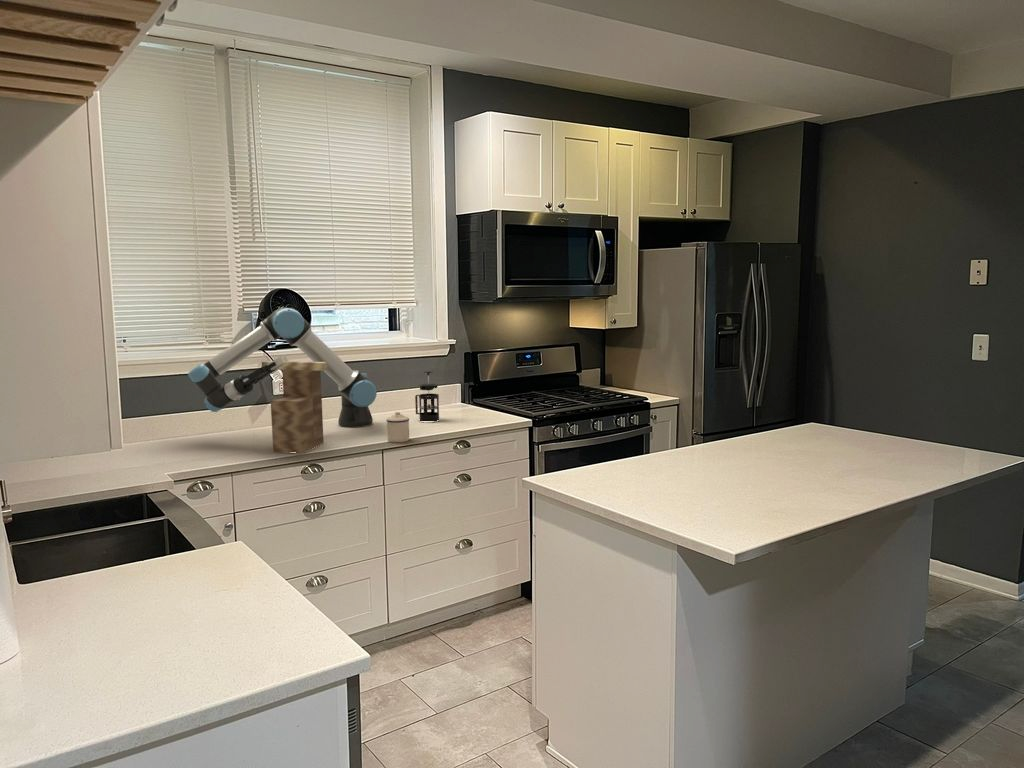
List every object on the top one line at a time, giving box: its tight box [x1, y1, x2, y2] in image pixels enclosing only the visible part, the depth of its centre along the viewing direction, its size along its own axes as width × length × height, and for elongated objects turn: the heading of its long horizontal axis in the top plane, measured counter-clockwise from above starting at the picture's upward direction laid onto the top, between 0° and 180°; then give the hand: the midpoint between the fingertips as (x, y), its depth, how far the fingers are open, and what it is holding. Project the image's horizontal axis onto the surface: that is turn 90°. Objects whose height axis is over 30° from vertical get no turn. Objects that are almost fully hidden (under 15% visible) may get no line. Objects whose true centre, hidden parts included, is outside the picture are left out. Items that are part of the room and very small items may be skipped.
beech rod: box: [261, 360, 327, 372], centre depth 292 cm, size 26×3×3 cm, turn 79°
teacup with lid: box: [385, 411, 410, 443], centre depth 304 cm, size 12×9×12 cm
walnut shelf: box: [270, 370, 325, 454], centre depth 289 cm, size 12×18×30 cm, turn 169°
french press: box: [414, 370, 440, 422], centre depth 343 cm, size 12×9×23 cm
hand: (284, 358), depth 293 cm, fingers closed on beech rod, 3 cm apart
